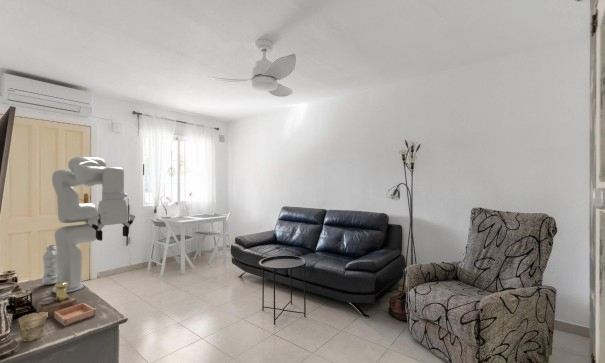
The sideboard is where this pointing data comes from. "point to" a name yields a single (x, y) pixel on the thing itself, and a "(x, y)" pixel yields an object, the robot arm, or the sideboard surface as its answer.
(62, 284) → the pin
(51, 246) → the plastic bottle
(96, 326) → the sideboard surface
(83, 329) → the sideboard surface
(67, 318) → the tray
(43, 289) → the sideboard surface
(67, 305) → the block
